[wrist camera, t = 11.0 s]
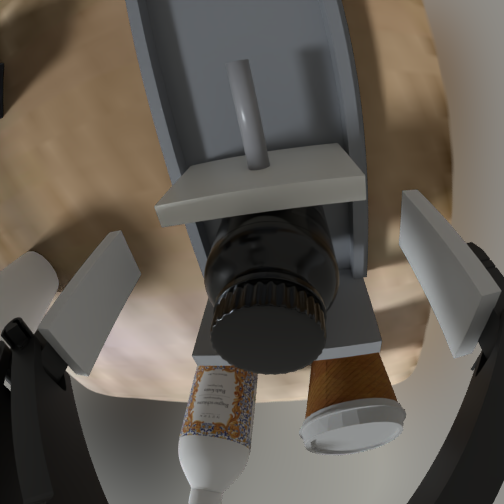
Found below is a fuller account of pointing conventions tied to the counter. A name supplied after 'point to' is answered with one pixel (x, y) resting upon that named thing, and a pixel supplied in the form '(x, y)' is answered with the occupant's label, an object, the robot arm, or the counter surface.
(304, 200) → the pusher
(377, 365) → the disposable coffee cup
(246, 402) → the bath foam
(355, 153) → the tray
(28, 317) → the foam cup
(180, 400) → the counter surface
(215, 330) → the supplement bottle
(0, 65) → the small box
